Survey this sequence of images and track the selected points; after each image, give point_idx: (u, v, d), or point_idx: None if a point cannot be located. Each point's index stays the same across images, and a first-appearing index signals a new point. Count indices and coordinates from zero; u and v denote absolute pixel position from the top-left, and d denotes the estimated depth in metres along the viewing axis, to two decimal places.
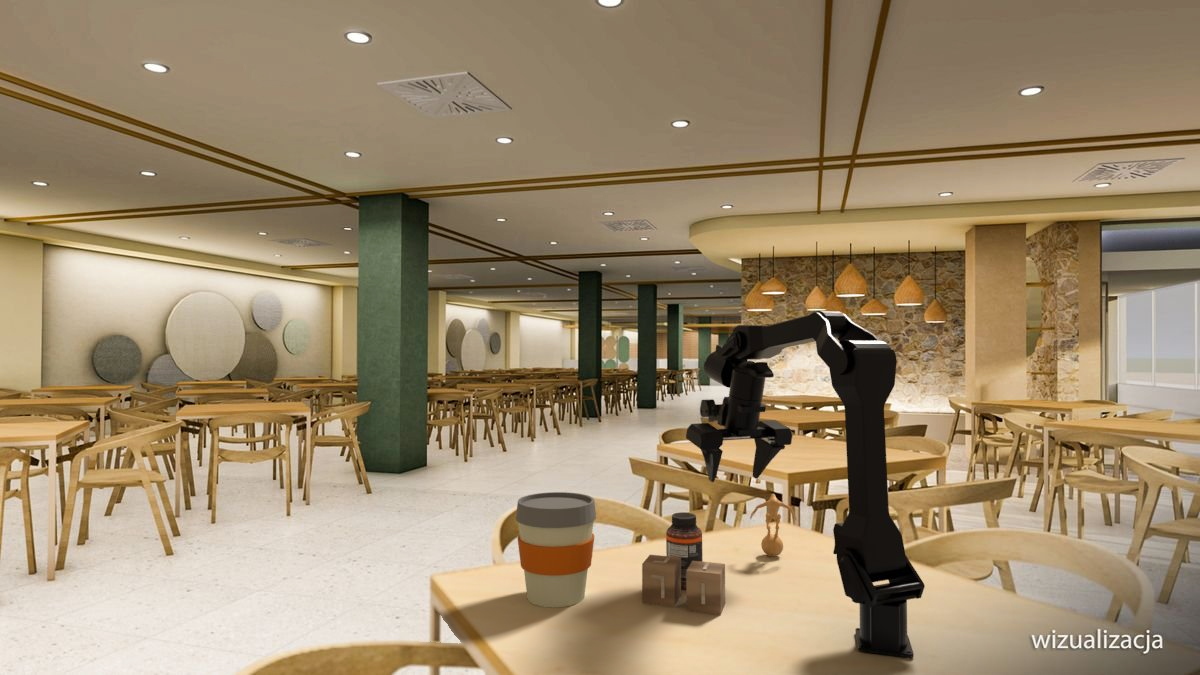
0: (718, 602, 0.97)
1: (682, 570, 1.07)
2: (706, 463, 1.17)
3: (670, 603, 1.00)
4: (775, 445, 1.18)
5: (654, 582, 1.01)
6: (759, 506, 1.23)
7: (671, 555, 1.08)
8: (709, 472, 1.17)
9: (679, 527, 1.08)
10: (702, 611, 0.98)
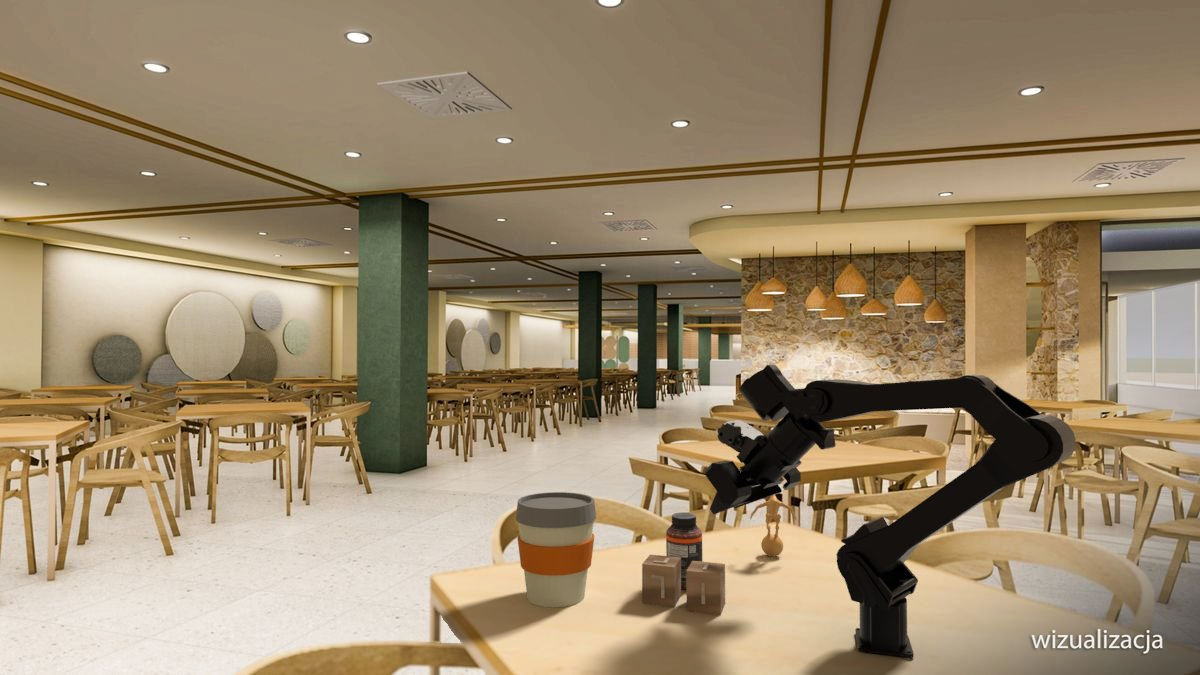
0: (718, 602, 0.97)
1: (682, 570, 1.07)
2: (718, 497, 1.01)
3: (670, 603, 1.00)
4: (773, 488, 1.04)
5: (654, 582, 1.01)
6: (759, 506, 1.23)
7: (671, 555, 1.08)
8: (716, 506, 1.02)
9: (679, 527, 1.08)
10: (702, 611, 0.98)
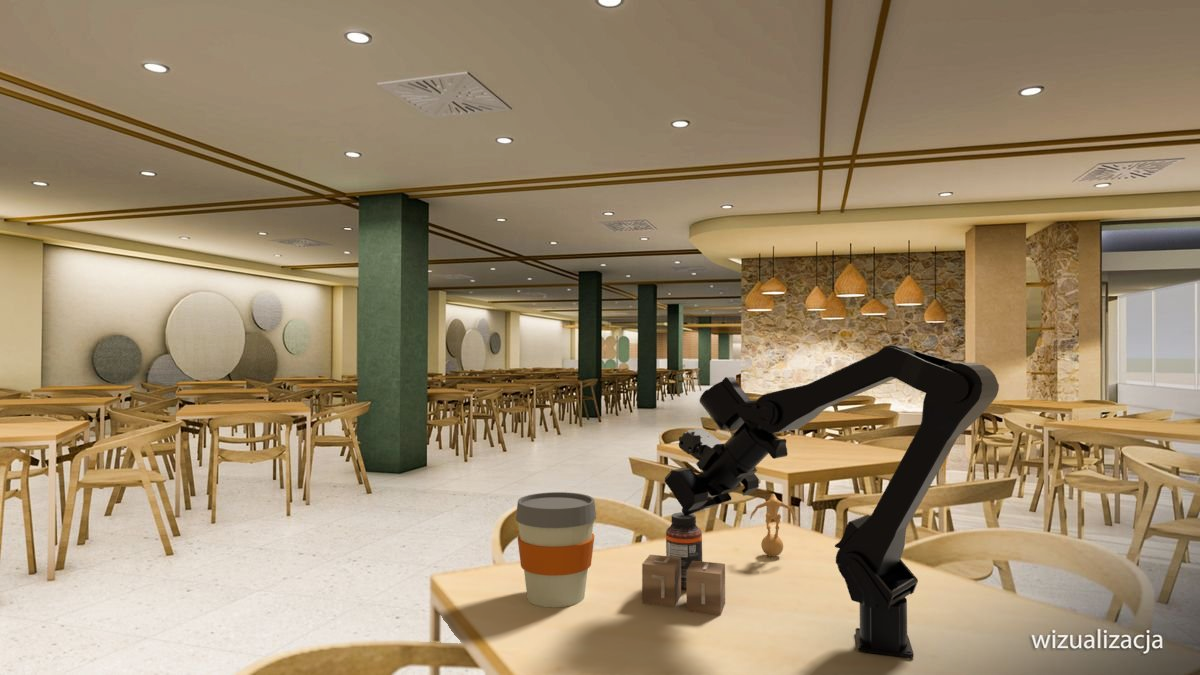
0: (718, 602, 0.97)
1: (682, 570, 1.07)
2: None
3: (670, 603, 1.00)
4: (723, 496, 1.07)
5: (654, 582, 1.01)
6: (759, 506, 1.23)
7: (671, 555, 1.08)
8: None
9: (679, 527, 1.08)
10: (702, 611, 0.98)
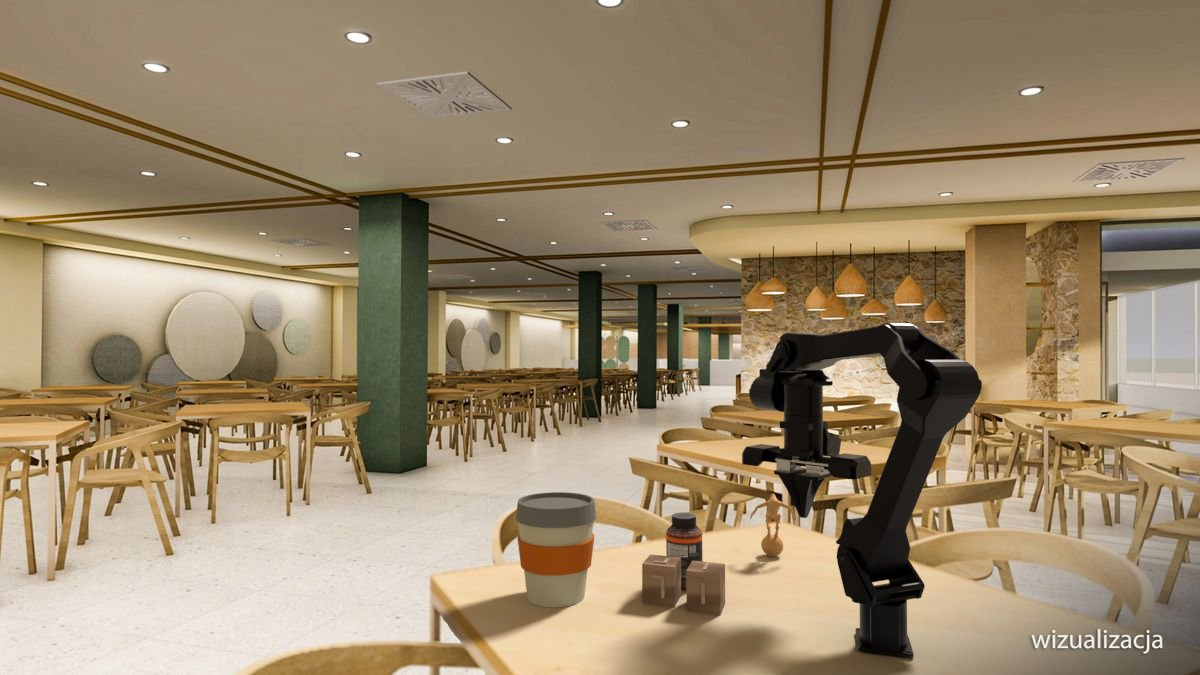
0: (718, 602, 0.97)
1: (682, 570, 1.07)
2: None
3: (670, 603, 1.00)
4: (808, 474, 0.99)
5: (654, 582, 1.01)
6: (759, 506, 1.23)
7: (671, 555, 1.08)
8: None
9: (679, 527, 1.08)
10: (702, 611, 0.98)
